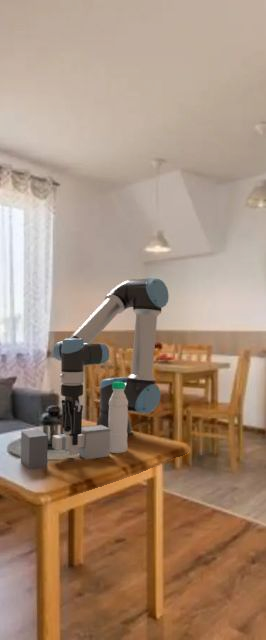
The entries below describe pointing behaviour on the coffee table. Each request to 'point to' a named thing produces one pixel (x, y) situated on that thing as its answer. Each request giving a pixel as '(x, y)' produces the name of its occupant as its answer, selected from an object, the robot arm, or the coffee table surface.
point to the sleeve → (95, 442)
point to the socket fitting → (34, 448)
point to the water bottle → (118, 418)
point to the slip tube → (66, 441)
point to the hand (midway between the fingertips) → (71, 452)
